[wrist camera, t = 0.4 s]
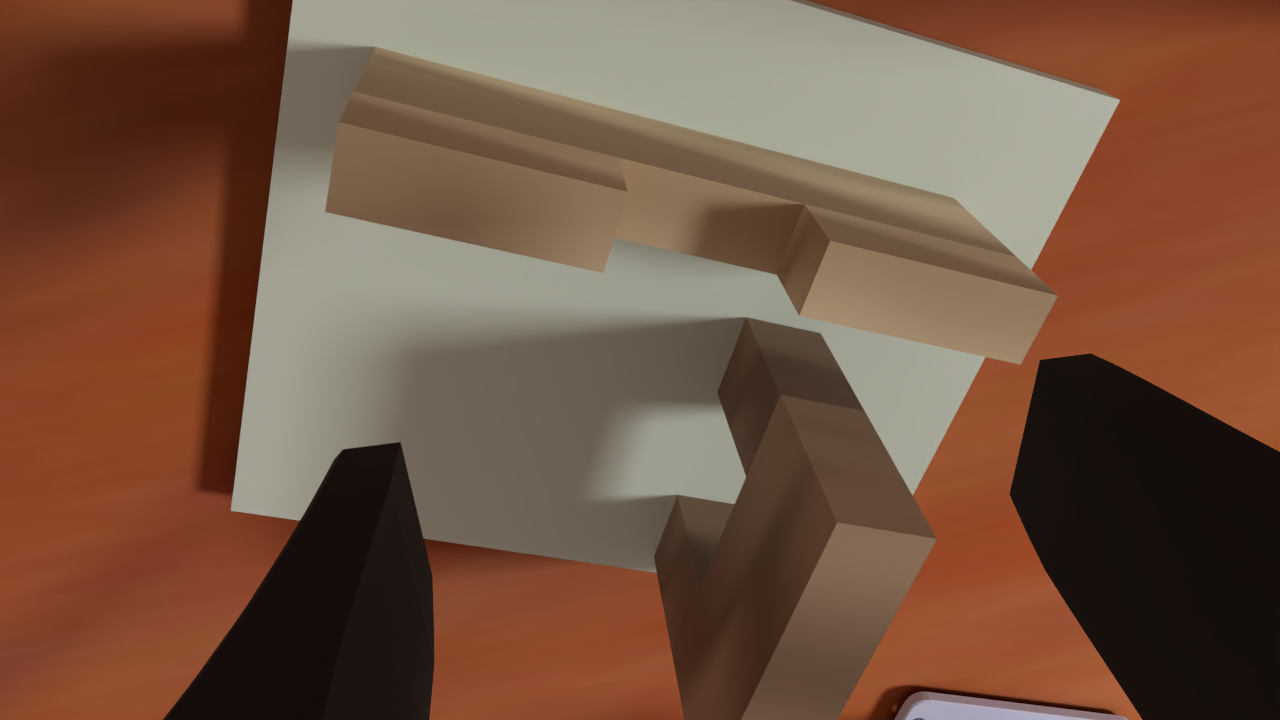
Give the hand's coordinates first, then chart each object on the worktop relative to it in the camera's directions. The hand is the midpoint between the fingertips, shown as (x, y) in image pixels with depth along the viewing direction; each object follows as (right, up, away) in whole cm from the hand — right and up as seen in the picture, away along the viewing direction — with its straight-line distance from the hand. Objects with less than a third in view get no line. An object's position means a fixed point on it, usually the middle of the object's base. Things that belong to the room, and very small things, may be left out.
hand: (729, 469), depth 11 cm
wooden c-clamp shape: (+1, -1, +12) cm, 12 cm away
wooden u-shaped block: (0, +5, +8) cm, 10 cm away
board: (-1, +3, +11) cm, 11 cm away
